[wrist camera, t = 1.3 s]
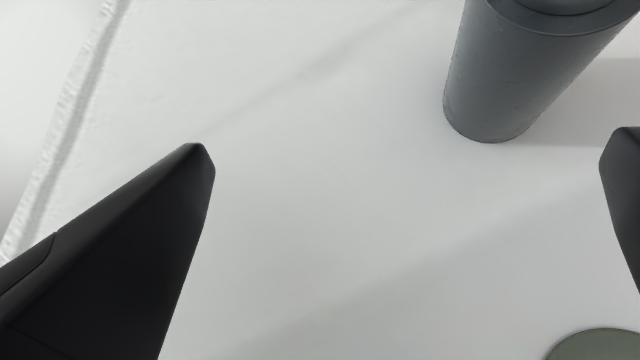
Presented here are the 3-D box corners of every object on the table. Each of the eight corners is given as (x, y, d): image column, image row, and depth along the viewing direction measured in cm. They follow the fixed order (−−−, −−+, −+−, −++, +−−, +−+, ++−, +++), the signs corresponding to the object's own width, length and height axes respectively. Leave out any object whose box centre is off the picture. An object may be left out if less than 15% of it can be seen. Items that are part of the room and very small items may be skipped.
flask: (558, 116, 21) (754, -63, 9) (470, 158, 22) (548, 41, 10) (507, 45, 23) (620, -187, 11) (426, 85, 24) (449, -91, 12)
